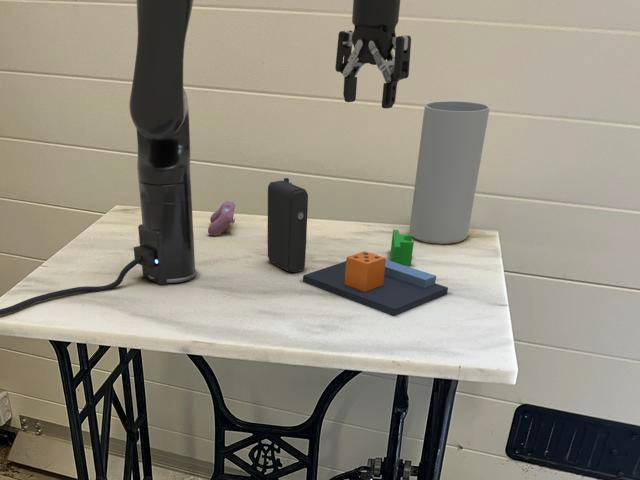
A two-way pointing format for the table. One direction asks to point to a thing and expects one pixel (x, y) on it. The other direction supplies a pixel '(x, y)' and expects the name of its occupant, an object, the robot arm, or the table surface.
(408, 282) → the bed mat
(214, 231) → the purple rounded lump
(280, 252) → the dark grey rounded box
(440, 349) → the table surface
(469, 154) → the cylinder vase
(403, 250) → the pipe clamp
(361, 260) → the die
